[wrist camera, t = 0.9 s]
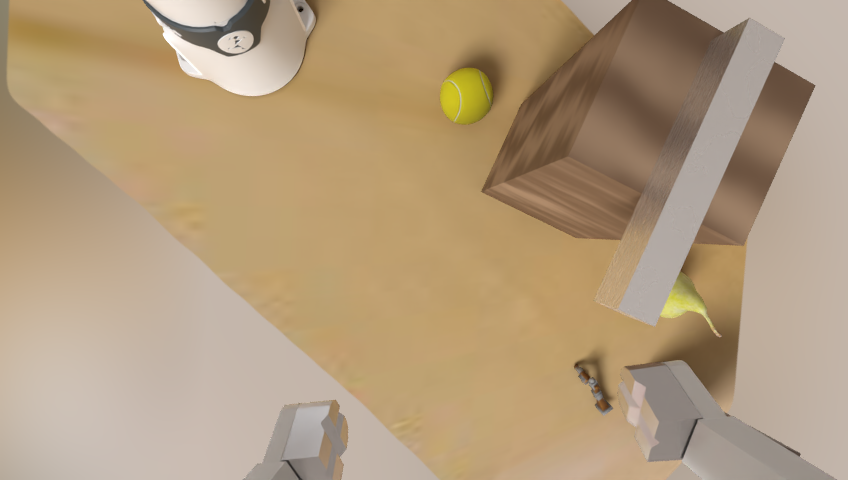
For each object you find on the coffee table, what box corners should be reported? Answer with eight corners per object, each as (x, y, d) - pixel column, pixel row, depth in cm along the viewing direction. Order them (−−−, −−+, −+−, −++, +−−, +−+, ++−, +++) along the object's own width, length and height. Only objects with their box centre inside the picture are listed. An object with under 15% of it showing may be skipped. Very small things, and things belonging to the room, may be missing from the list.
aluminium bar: (626, 316, 28) (655, 326, 25) (593, 300, 28) (617, 309, 25) (743, 58, 29) (784, 38, 26) (711, 40, 28) (749, 17, 25)
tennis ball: (476, 74, 53) (489, 51, 46) (491, 121, 53) (506, 105, 46) (430, 89, 52) (436, 67, 45) (446, 136, 53) (454, 122, 46)
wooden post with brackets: (578, 358, 55) (600, 379, 51) (592, 387, 58) (614, 409, 54) (568, 365, 55) (590, 387, 51) (583, 394, 58) (604, 416, 54)
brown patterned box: (580, 239, 55) (749, 248, 29) (481, 191, 53) (568, 156, 27) (618, 154, 55) (821, 89, 29) (521, 104, 54) (645, -13, 28)
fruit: (666, 263, 56) (741, 272, 44) (672, 311, 57) (748, 333, 45) (626, 270, 56) (690, 281, 44) (631, 318, 56) (697, 342, 44)
